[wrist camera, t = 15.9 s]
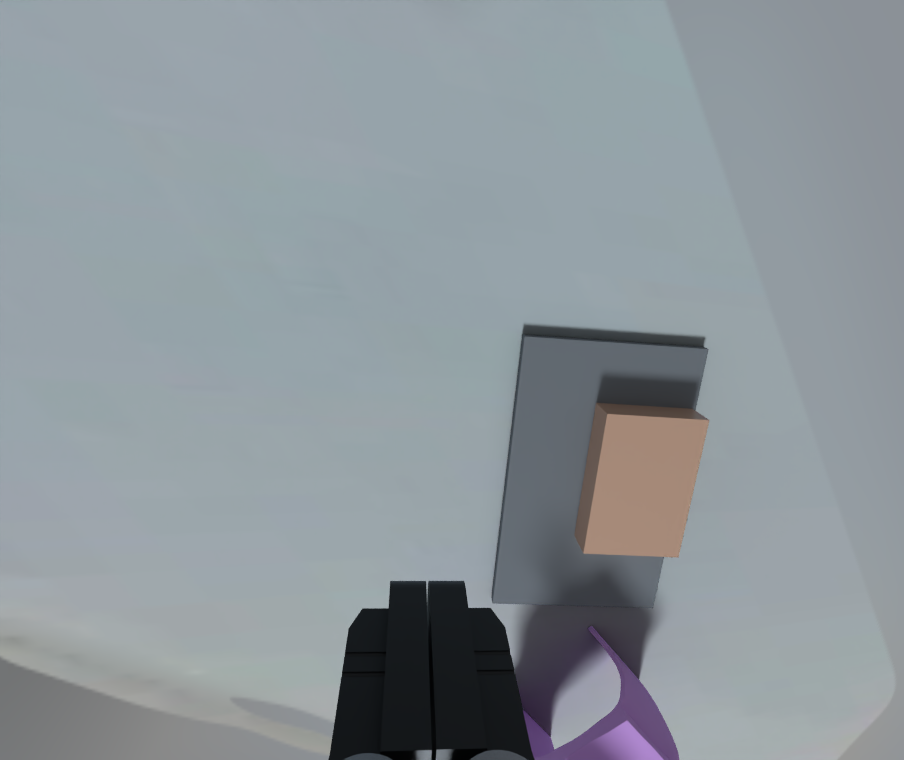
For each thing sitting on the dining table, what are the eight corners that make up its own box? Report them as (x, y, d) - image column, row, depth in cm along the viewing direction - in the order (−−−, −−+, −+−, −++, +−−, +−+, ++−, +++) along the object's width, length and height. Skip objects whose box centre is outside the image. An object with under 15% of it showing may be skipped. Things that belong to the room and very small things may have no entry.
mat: (522, 334, 32) (524, 336, 31) (703, 346, 32) (708, 349, 32) (491, 597, 36) (492, 603, 36) (649, 602, 37) (653, 607, 37)
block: (607, 413, 30) (709, 420, 31) (595, 402, 32) (692, 408, 33) (583, 553, 33) (678, 557, 33) (574, 535, 35) (664, 539, 35)
